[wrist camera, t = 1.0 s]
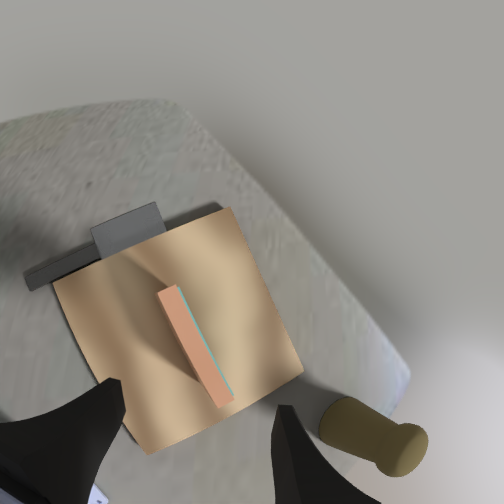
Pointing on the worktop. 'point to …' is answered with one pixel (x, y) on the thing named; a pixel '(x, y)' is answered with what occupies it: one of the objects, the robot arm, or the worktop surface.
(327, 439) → the pepper shaker
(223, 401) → the tile
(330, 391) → the worktop surface
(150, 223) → the turner
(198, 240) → the tan cloth
